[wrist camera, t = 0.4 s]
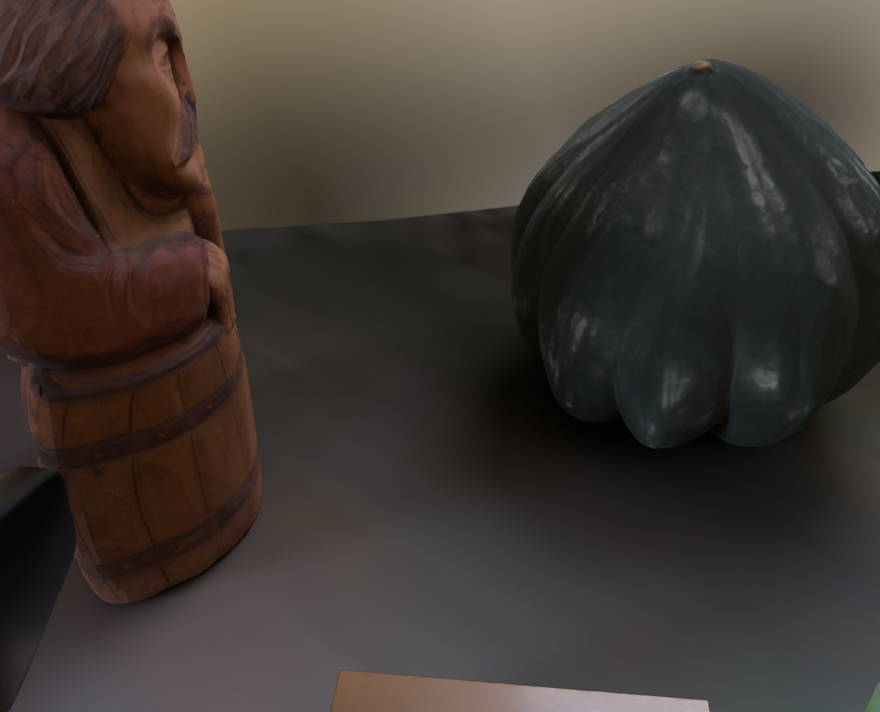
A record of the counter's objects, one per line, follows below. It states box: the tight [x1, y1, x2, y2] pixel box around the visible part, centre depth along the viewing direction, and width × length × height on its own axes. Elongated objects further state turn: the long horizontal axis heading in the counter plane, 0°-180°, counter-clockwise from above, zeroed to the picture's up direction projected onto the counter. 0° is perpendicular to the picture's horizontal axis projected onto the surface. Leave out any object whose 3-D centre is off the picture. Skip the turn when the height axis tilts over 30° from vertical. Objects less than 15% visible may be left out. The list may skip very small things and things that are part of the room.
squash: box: [510, 59, 880, 449], centre depth 32 cm, size 14×15×15 cm
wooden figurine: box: [0, 0, 262, 604], centre depth 25 cm, size 12×6×18 cm, turn 14°
